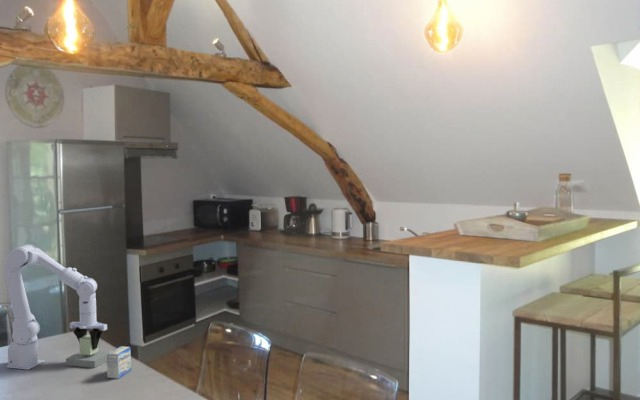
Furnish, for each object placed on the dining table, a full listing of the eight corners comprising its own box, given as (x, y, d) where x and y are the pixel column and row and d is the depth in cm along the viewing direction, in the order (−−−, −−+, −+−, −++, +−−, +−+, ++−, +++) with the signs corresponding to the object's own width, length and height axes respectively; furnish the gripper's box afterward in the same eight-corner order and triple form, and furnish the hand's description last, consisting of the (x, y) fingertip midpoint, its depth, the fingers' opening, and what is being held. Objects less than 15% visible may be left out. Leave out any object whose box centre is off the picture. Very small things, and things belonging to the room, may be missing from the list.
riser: (66, 365, 191) (65, 358, 191) (84, 355, 201) (84, 349, 200) (94, 368, 188) (94, 361, 188) (111, 358, 198) (111, 351, 198)
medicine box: (118, 379, 178) (118, 354, 178) (106, 378, 179) (106, 353, 179) (131, 370, 186) (130, 346, 185) (120, 369, 187) (119, 345, 186)
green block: (79, 354, 192) (79, 338, 192) (87, 350, 197) (87, 334, 196) (90, 355, 191) (90, 339, 191) (98, 351, 196) (97, 335, 195)
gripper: (63, 313, 191) (64, 350, 192) (98, 316, 188) (99, 353, 188) (76, 308, 198) (77, 343, 199) (110, 311, 195) (111, 346, 195)
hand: (89, 348), depth 194 cm, fingers closed on green block, 4 cm apart
